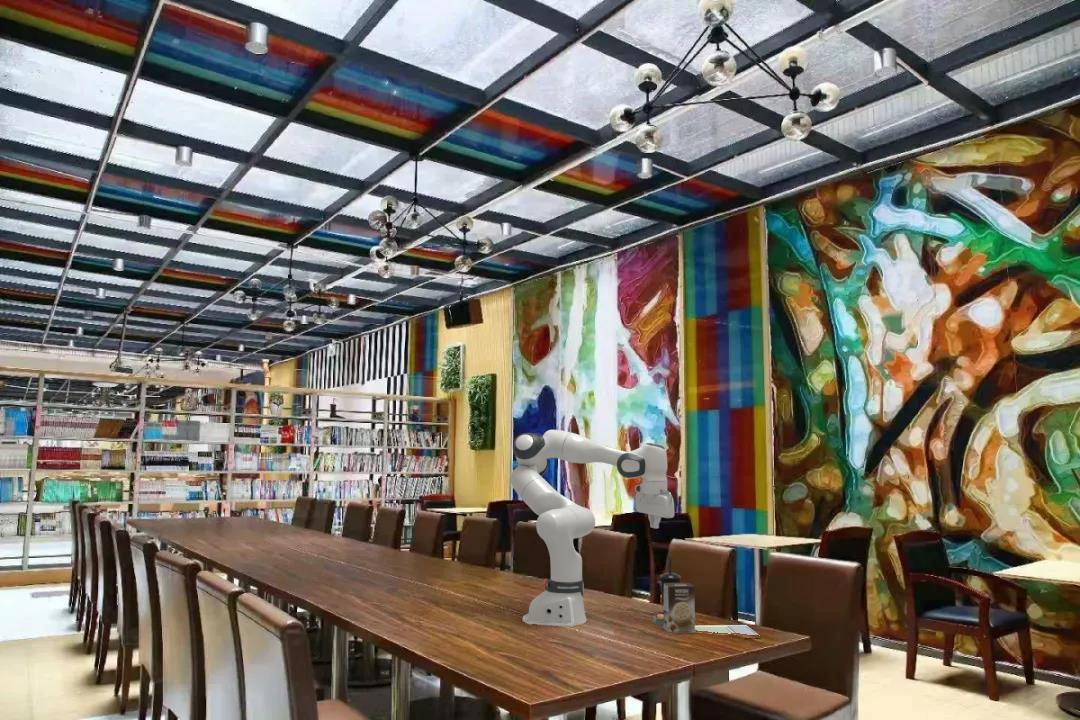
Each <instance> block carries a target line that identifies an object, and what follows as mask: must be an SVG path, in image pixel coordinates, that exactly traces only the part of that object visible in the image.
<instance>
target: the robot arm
mask: <svg viewBox="0 0 1080 720" xmlns="http://www.w3.org/2000/svg"><path fill="white" fill-rule="evenodd" d="M512 451H513V455H514V456H515V459H516V460H517V463H518V465H517V467H516V468H514V469H513V470H512V472H511V474H510V477H509V481H510V482H509V483H510V484H511V486H512V488H513V490H514V491H515V493H516V494H517V495H518V496H519V498H520V499H521V500H522V501H523V502H524V503H525V504H526V505H527V506H528V507H529V509H531V510H532V512H533V513H535V514H536V515H537V516H538V517H537V520H536V524H535V527H536V532H537V534H538V536H539V537H540V539H542V540H543V541H544V543H545V544H546V547H547V550H548V553H549V557H550V559H549V561H550V578H549V579H548V578H544V579H543V585H544V591H543V592H541V593H539V594H538V595H537V596H536V597H534V599H532V601H531V602H530V604H529V607H528V613H526V614H524V615H523V616H522V622H523V623H524V622H525V624H526V623H527V624H526V625H532V624H537V625H536V626H551V625H552V627H553V626H556V627H573V626H578V625H583V624H585V623H587V622H588V620H587V616H586V612H585V606H584V598H583V597H584V593H585V591H584V590H585V589H584V586H585V585H584V584H585V583H584V579H583V558H582V556H581V554H580V553H579V552H578V551H576V549H575V546H574V542H573V541H574V540H573V539H579V538H582V537H583V538H584V537H585V536H587V535H589V534H591V533H592V532H593V531H594V529H595V527H596V517H595V515H594V513H593V511H592V510H590V509H589V508H587V507H584V506H581V505H579V504H577V503H576V502H573V501H572V500H570V499H569V498H567V497H566V496H564V495H562V494H561V493H560V492H558V491H557V490H556V489H555V488H554V487H553V486H552V485H551V484H549V483H550V482H549V483H548V481H546V479H545V478H543V476H544V475H545V474H546V473H547V471H548V469H549V460H548V459H551V458H552V459H553V458H554V459H558V460H560V461H561V460H562V461H564V462H568V463H573V464H593V463H603V464H606V465H611V466H615V467H616V469H617V472H618V474H619V475H620V476H622V477H623V478H626V479H638V478H642V483H640V484H637V485H635V486H634V491H635V492H636V493H635V499H634V500H635V503H634V505H635V510H636V512H638V513H643V514H645V515H648V516H647V517H648V521H649V524H650V525H649V526H650V528H653V529H659V528H660V522H661V520H662V518H664V519H672V518H674V517H675V513H676V512H675V502H674V498H673V495H672V494H671V492H670V491H669V490H668V477H667V471H668V455H667V449H666V447H665V446H663V445H661V444H658V443H651V442H647V443H644V444H643V445H642V446H640V447H639V448H636V449H634V450H630V451H626V450H622V449H617V448H614V447H610V446H606V445H603V444H601V443H599V442H596V441H594V440H592V439H589V438H587V437H585V436H583V435H581V434H577V433H575V432H571V431H565V430H561V429H549V430H547V431H545V432H544V433H543V435H542V434H541V433H538V432H535V433H532V432H524V433H520V434H519V435H517V436H516V437H515V438H514V439H513V442H512Z"/></svg>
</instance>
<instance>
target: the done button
mask: <svg viewBox="0 0 1080 720" xmlns="http://www.w3.org/2000/svg"><path fill="white" fill-rule="evenodd" d="M656 616H657V619H664V613H658V614H657V615H656Z"/></svg>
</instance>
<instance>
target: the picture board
mask: <svg viewBox="0 0 1080 720" xmlns="http://www.w3.org/2000/svg"><path fill="white" fill-rule="evenodd" d="M695 630H697V631H708V632H712V633H713V632H715V633H717V632H718V633H728V634H731V633H740V634H747V635H759V634H758V633H757V632H756V631H755V630H753V629H752V628H750V627H749V626H748V624H727V625H726V624H725V625H724V624H718V625H716V624H715V625H713V624H712V625H707V624H705V625H699V624H698V625H696V624H695ZM712 633H711V634H712ZM728 634H727V635H728Z"/></svg>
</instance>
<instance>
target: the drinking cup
mask: <svg viewBox="0 0 1080 720" xmlns="http://www.w3.org/2000/svg"><path fill="white" fill-rule="evenodd" d="M668 560H669V561H668V563H669V564H668V565H669V567H668V569H669V570H668V571H669V572H664V573H663V574H660V575H659V577H660V583H661V593H662V594H661V595H662V604H663V606H664V583H681V578H682V577H681V575H679V574H677V573H675V572H672V558H670V557H669V558H668Z"/></svg>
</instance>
